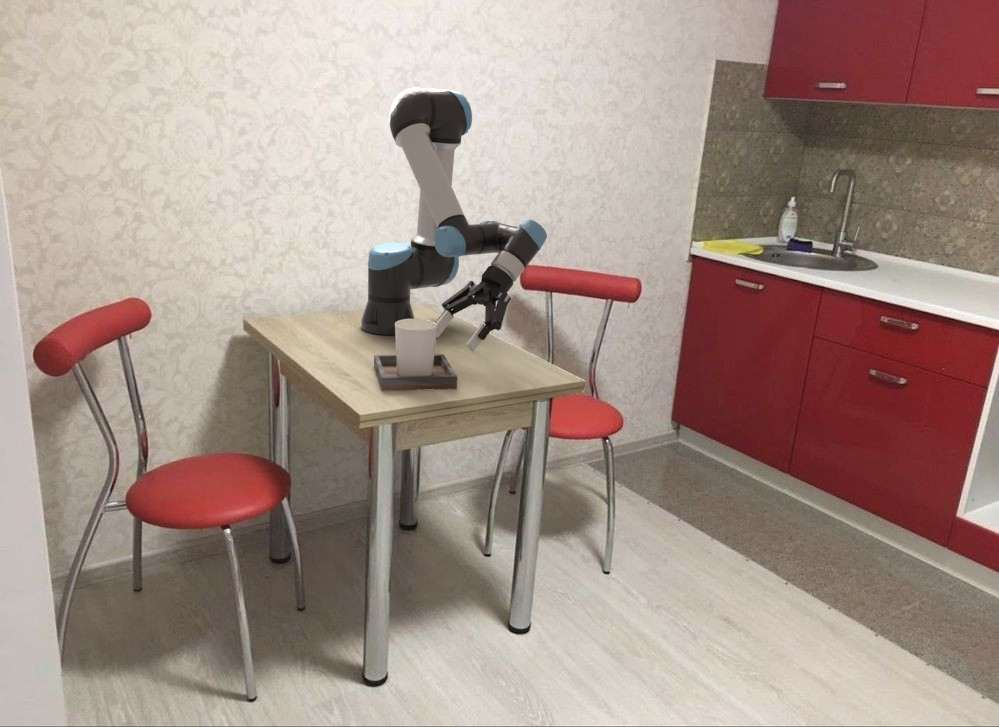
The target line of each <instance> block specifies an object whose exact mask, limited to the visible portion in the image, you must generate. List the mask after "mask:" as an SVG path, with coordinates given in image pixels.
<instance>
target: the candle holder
mask: <svg viewBox="0 0 999 727" xmlns="http://www.w3.org/2000/svg"><path fill="white" fill-rule="evenodd" d="M436 323H437V322H435V321H432V320H430V319H424V318H415V319H403V320H399V321H397V322H395V335H394V338H395V355H396V367H397V374H398V375H399V376H431V375H432V372H433V363H434V354H436V353H435V352H436V342H437V337H436V333H437V324H436Z"/></svg>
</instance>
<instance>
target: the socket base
mask: <svg viewBox="0 0 999 727" xmlns="http://www.w3.org/2000/svg"><path fill="white" fill-rule="evenodd" d="M373 368H374V370H375V375H376V377H377V381H378V384H379V387H380V390H381V391H382V390H383V391H384V390H385V391H386V390H392V391H418V390H417V389H435V390H457V387H458V386H457V384H458V376H457V374H456V373H455V371H454V369H453V367H452V366H451V364H450V361H449V360H448V359H447V357H446V356H445V354H444V353H441V354H440V353H439V354H438V353H434V363H433V372H432V375H431V376H399V375H398V374H397V367H396V354H374V355H373ZM383 391H382V392H383ZM385 391H384V392H385Z"/></svg>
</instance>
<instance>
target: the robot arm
mask: <svg viewBox="0 0 999 727" xmlns="http://www.w3.org/2000/svg"><path fill="white" fill-rule="evenodd" d="M388 122H389V128H390V129H389V130H390V132H391V136H392V138H393V141H394V142H395V144H396V146H397V147H399V148H401V149H402V151H403V153H404V156H405V158H406V159H407V162H408V165H409V166H410V169H411V172H412V173H413V176H414V178H415V181H416V182H417V184H418V187H419V201H418V213H417V214H418V215H417V226H416V227H417V228H416V233H415V234H414V235H413V236H412V237H411V239H410V244H409V243H407V242H406V243H405V242H400V241H399V242H397V241H396V242H386V243H385V242H384V243H380V244H378V245H374V247H372V248H371V249H370V251H369V253H368V261H367V267H368V269H367V272H368V273H367V275H368V276H367V278H368V280H367V302H366V305H365V309H364V312H363V313H362V317H361V320H360V322H361V324H360V328H361V329H362V331H364V332H367V333H370V334H374V335H380V336H381V335H383V336H395V322H397V321H399V320H403V319H416V318H415V315H414V314H415V313H414V311H413V308H412V304H411V290H416V289H424V288H438V287H441V286H444V285H448V284H450V283H451V282H452V281H453V280H454V279H455V278H456V276H457V274H458V271H459V266H460V257H464V256H471V255H472V256H473V255H476V256H477V255H485V254H497V255H496V256H495V257H494V258H493V260H492V261H491V263H490V265H488V267H487V268H486V269H485V270H484V272H483V273H482V274H481V281H480V282H479V283H478V284H476V283H475V282H474V281H473V280H469V281H468V282H467V284H466V285H464V287H462V288H461V289H460V290H459V291H457V292H456V293H454V294H452V296H449V298H447V299H446V300H445V301H442V302H443V303H441V306H442V308H443V309H444V310H443V312H442V313H441V315H440V316H439V317H438V318H437V321H436V322H435V323H436V324H437V333H436V338H439V337H440V336H441V335H442V333H443V332H444V331H445V329H446V328H447V327H448V325H450V323H451V321H453V319H454V315H455V314H457V313H459V312H461V311H463V310H465V309H466V308H468V307H471V306H473V305H474V306H476V305H483V307H484V308H485V309H484V310H485V312H484V321H483V322H482V323H480V325H479V326H478V327H477V329H476V330H475V332H474V333H473V334H472V335H471V337H470V338H469V340H467V342H466V344H465V346H466V347H467V348H468V349H469V350H470V351H471V352H473V353H474V352H475V350H476V349H477V348H478V346H479V345H480V344H481V342H482V341H484V340H485V339H486V338H487V337H488V336H489V334H490V333H491V332H492V331H494V330H497V331H500V330H501V329H502V326H503V322H504V318H505V316H506V311H507V307H508V305H509V303H510V301H511V300H512V297H511V296H510V295H509V294H508V292H509V291H510V289H511V288H512V287H513V286H514V283H515V282H516V281H517V280H518V278H519V277H520V276H521V275H522V273H523V272H524V270H525V269H526V268H528V265H529V264H530V263H531V261H532V260H533V259H534V258H535V256H536V255H537V254H538V252H539V251H540V250H542V249H541V248H542V247H543V245H544V244H545V242H546V240H547V238H548V234H547V231H546V229H545V228H544V227H543V226H542V225H541V224H539V222H537V221H535V220H533V219H530V218H527V219H524V220H523V221H522V222H521V223H520V224H519V226H515V225H514V226H513V225H509V224H505V223H500V222H498V221H495V220H492V221H491V220H484V221H483V220H482V221H481V222H479V223H478V224H477V223H476V224H474V223H473V224H469V222H468V220H467V218H466V216H465V213H464V212H463V209H462V207H461V205H460V202H459V200H458V198H457V195H456V194H455V191H454V189H453V187H452V185H453V176H454V175H453V173H454V164H455V163H454V162H455V160H454V159H455V150H456V149H457V148H458V147H460V145H461V144H462V137H463V136H464V135H466V134H467V133H468V132H469V130H470V129H471V128H472V123H473V111H472V108H471V105H470V102H469V101H468V100H467V98H466V96H465V95H464V94H463V93H461V92H459V91H457V90H451V89H439V88H438V89H437V88H420V87H412V88H407V89H405V90H404V91H402V92H400V93H399V94H398V95H397V96H396V97H395V99H394V100H393V102H392V105H391V107H390V110H389V120H388Z"/></svg>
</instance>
